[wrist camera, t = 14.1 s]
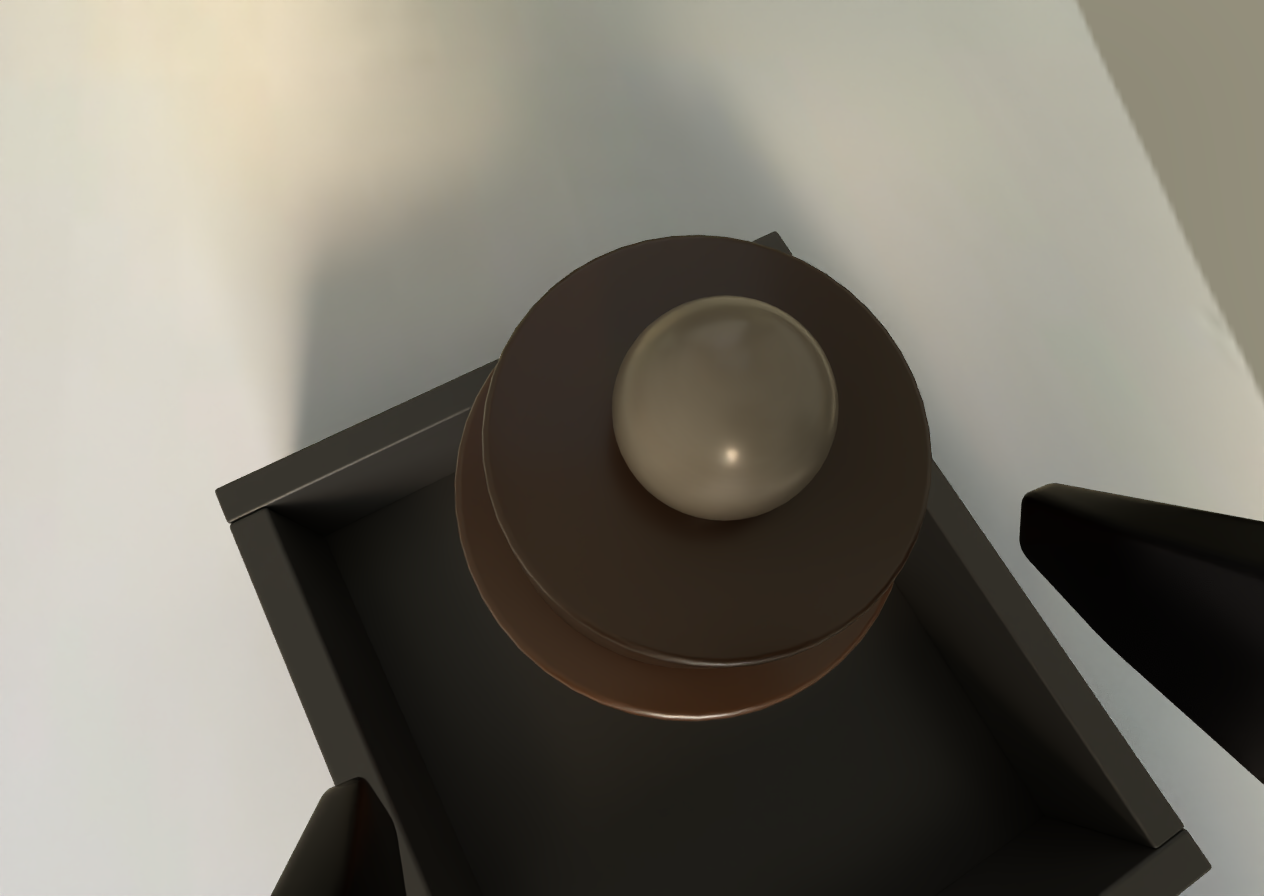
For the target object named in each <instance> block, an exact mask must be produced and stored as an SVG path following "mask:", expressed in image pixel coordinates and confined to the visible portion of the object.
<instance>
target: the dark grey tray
mask: <svg viewBox="0 0 1264 896" xmlns="http://www.w3.org/2000/svg"><path fill="white" fill-rule="evenodd" d="M753 242H754V243H757V244H761V245H764V246H767V247H770V248H774V249H777V250H780V251H782V252H784V253H786V254H789V255H791V256H792V253H791V252H790V250H789V249H788V247H787V246H786V245H785V243H784V242H783V240H782V239H781V237H780V236H779V234H778V233H777V232H776V231H775V232H772V233H770V234H768V235H766V236H763V237H761V238H759V239H757V240H755V241H753ZM498 361H499V359H497V360H495V361H493V362H490V363H488V364H486V365H484V366H482V367H480V368H477V369H475V370H473V371H471V372H469V373H467V374H464V375H462V376H460V377H458V378H456V379H454V380H451V381H449V382H447V383H445V384H443V385H441V386H438V387H436V388H434V389H432V390H430V391H428V392H425V393H423V394H421V395H419V396H417V397H415V398H412V399H410V400H408V401H406V402H404V403H402V404H399V405H397V406H395V407H393V408H391V409H389V410H386V411H384V412H382V413H380V414H378V415H376V416H373V417H371V418H369V419H367V420H365V421H363V422H360V423H358V424H356V425H354V426H352V427H350V428H347V429H345V430H343V431H341V432H339V433H337V434H334V435H332V436H330V437H328V438H326V439H324V440H321V441H319V442H317V443H315V444H313V445H311V446H308V447H306V448H304V449H302V450H300V451H298V452H295V453H293V454H291V455H289V456H287V457H285V458H282V459H280V460H278V461H276V462H274V463H272V464H269V465H267V466H265V467H263V468H261V469H259V470H256V471H254V472H252V473H250V474H248V475H246V476H243V477H241V478H239V479H237V480H235V481H233V482H230V483H228V484H226V485H224V486H222V487H220V488H217V489H216V490H215V493H216V496H217V498H218V501H219V503H220V505H221V508H222V510H223V513H224V515H225V518H226V520H227V522H228V523H230V524H231V525H230V529H231V532H232V534H233V537H234V539H235V541H236V544H237V546H238V549H239V551H240V554H241V556H242V559H243V561H244V563H245V566H246V568H247V571H248V573H249V576H250V578H251V581H252V583H253V585H254V588H255V590H256V593H257V595H258V598H259V600H260V603H261V605H262V608H263V610H264V612H265V615H266V617H267V620H268V622H269V625H270V627H271V630H272V632H273V634H274V637H275V639H276V642H277V644H278V647H279V649H280V652H281V654H282V657H283V659H284V661H285V664H286V666H287V669H288V671H289V674H290V676H291V679H292V681H293V683H294V686H295V688H296V691H297V693H298V696H299V698H300V701H301V703H302V706H303V708H304V710H305V713H306V715H307V718H308V720H309V723H310V725H311V728H312V730H313V732H314V735H315V737H316V740H317V742H318V745H319V747H320V750H321V752H322V754H323V757H324V759H325V762H326V764H327V767H328V769H329V772H330V774H331V777H332V779H333V781H334V784H335V786H336V785H339V784H341V783H343V782H346V781H348V780H350V779H353V778H355V777H363V778H364V779H366V780H367V781H368V782H369V784H370V785H371V787H372V788H373V790H374V791H375V793H376V795H377V796H378V798H379V799H380V801H381V802H382V804H383V805H384V807H385V808H386V810H387V811H388V813H389V815H390V816H391V818H392V820H393V823H394V826H395V829H396V833H397V837H398V843H399V850H400V856H401V863H402V869H403V876H404V882H405V889H406V895H407V896H1178V895H1179V894H1180V893H1182V892H1183V891H1184V890H1185V889H1187V888H1188V887H1189V886H1190V885H1192V884H1193V883H1194V882H1195V881H1197V880H1198V879H1199V878H1200V877H1202V876H1203V875H1204V874H1205V873H1207V872H1208V871H1209V870H1210V869H1211V864H1210V863H1209V862H1208V860H1207V859H1206V857H1205V856H1204V854H1203V853H1202V851H1201V850H1200V848H1199V847H1198V845H1197V844H1196V843H1195V841H1194V840H1193V838H1192V837H1191V835H1190V834H1189V832H1188V831H1187V830H1185V829H1184V828H1183V827H1184V826H1183V823H1182V822H1181V820H1180V819H1179V818H1178V816H1177V815H1176V813H1175V812H1174V810H1173V809H1172V807H1171V806H1170V804H1169V803H1168V802H1167V800H1166V799H1165V797H1164V796H1163V794H1162V793H1161V791H1160V790H1159V788H1158V787H1157V785H1156V784H1155V783H1154V781H1153V780H1152V778H1151V777H1150V775H1149V774H1148V772H1147V771H1146V769H1145V768H1144V767H1143V765H1142V764H1141V762H1140V761H1139V759H1138V758H1137V756H1136V755H1135V753H1134V752H1133V750H1132V749H1131V748H1130V746H1129V745H1128V743H1127V742H1126V740H1125V739H1124V737H1123V736H1122V734H1121V733H1120V732H1119V730H1118V729H1117V727H1116V726H1115V724H1114V723H1113V721H1112V720H1111V718H1110V717H1109V715H1108V714H1107V713H1106V711H1105V710H1104V708H1103V707H1102V705H1101V704H1100V702H1099V701H1098V699H1097V698H1096V697H1095V695H1094V694H1093V692H1092V691H1091V689H1090V688H1089V686H1088V685H1087V683H1086V682H1085V680H1084V679H1083V678H1082V676H1081V675H1080V673H1079V672H1078V670H1077V669H1076V667H1075V666H1074V664H1073V663H1072V662H1071V660H1070V659H1069V657H1068V656H1067V654H1066V653H1065V651H1064V650H1063V648H1062V647H1061V645H1060V644H1059V643H1058V641H1057V640H1056V638H1055V637H1054V635H1053V634H1052V632H1051V631H1050V629H1049V628H1048V627H1047V625H1046V624H1045V622H1044V621H1043V619H1042V618H1041V616H1040V615H1039V613H1038V612H1037V610H1036V609H1035V608H1034V606H1033V605H1032V603H1031V602H1030V600H1029V599H1028V597H1027V596H1026V594H1025V593H1024V592H1023V590H1022V589H1021V587H1020V586H1019V584H1018V583H1017V581H1016V580H1015V578H1014V577H1013V575H1012V574H1011V573H1010V571H1009V570H1008V568H1007V567H1006V565H1005V564H1004V562H1003V561H1002V559H1001V558H1000V557H999V555H998V554H997V552H996V551H995V549H994V548H993V546H992V545H991V543H990V542H989V540H988V539H987V538H986V536H985V535H984V533H983V532H982V530H981V529H980V527H979V526H978V524H977V523H976V521H975V520H974V519H973V517H972V516H971V514H970V513H969V511H968V510H967V508H966V507H965V505H964V504H963V503H962V501H961V500H960V498H959V497H958V495H957V494H956V492H955V491H954V489H953V488H952V486H951V485H950V484H949V482H948V481H947V479H946V478H945V476H944V475H943V473H942V472H941V470H940V469H939V468H938V466H937V465H936V463H935V462H934V460H933V459H932V464H931V485H930V491H929V496H928V502H927V507H926V513H925V516H924V519H923V522H922V525H921V528H920V532H919V535H918V538H917V541H916V543H915V545H914V547H913V549H912V551H911V553H910V555H909V557H908V559H907V561H906V563H905V565H904V567H903V568H902V570H901V571H900V572H899V574H898V575H897V577H896V578H895V580H894V583H893V586H892V589H891V592H890V594H889V596H888V598H887V600H886V602H885V604H884V606H883V608H882V610H881V612H880V614H879V616H878V617H877V619H876V620H875V622H874V623H873V624H872V626H871V627H870V629H869V630H868V632H867V633H866V635H865V636H864V637H863V639H862V640H861V642H860V643H859V644H858V645H857V646H856V647H855V648H854V649H853V650H852V651H851V652H850V653H849V654H848V656H847V657H846V658H845V659H844V660H843V661H842V662H841V663H840V664H839V665H838V666H836V667H835V668H834V669H833V670H831V671H830V672H829V673H828V674H826V675H825V676H824V677H823V678H821V679H820V680H819V681H818V682H816V683H815V684H813V685H811V686H810V687H808V688H806V689H805V690H803V691H801V692H799V693H798V694H796V695H794V696H793V697H791V698H789V699H787V700H784V701H782V702H779V703H777V704H775V705H772V706H770V707H767V708H765V709H762V710H760V711H756V712H752V713H748V714H744V715H740V716H736V717H732V718H725V719H716V720H706V721H672V720H661V719H655V718H649V717H644V716H638V715H633V714H629V713H626V712H623V711H620V710H617V709H614V708H611V707H608V706H605V705H602V704H600V703H598V702H596V701H593V700H591V699H589V698H587V697H585V696H583V695H581V694H579V693H577V692H575V691H573V690H571V689H570V688H568V687H567V686H565V685H564V684H562V683H561V682H559V681H558V680H556V679H555V678H553V677H552V676H550V675H549V674H547V673H546V672H544V671H543V670H542V669H541V668H540V667H539V666H538V665H536V664H535V663H534V662H533V661H532V660H531V659H530V658H529V657H527V656H526V655H525V654H524V653H523V652H522V651H521V650H520V649H519V648H518V647H517V646H516V645H515V643H514V642H513V641H512V640H511V639H510V638H509V636H508V635H507V634H506V633H505V632H504V630H503V629H502V628H501V627H500V626H499V624H498V623H497V621H496V620H495V618H494V617H493V615H492V613H491V612H490V610H489V609H488V607H487V606H486V604H485V602H484V601H483V599H482V598H481V595H480V593H479V591H478V589H477V587H476V584H475V582H474V580H473V578H472V576H471V574H470V571H469V569H468V566H467V562H466V559H465V556H464V552H463V549H462V546H461V543H460V538H459V532H458V526H457V519H456V513H455V473H456V464H457V455H458V450H459V446H460V442H461V438H462V434H463V430H464V426H465V423H466V421H467V418H468V416H469V413H470V411H471V408H472V406H473V404H474V401H475V399H476V397H477V395H478V393H479V392H480V390H481V388H482V386H483V385H484V383H485V381H486V379H487V378H488V376H489V374H490V373H491V371H492V370H493V369H494V368H495V366H496V365H497V363H498Z"/></svg>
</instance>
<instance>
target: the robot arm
mask: <svg viewBox="0 0 1264 896" xmlns="http://www.w3.org/2000/svg"><path fill="white" fill-rule="evenodd" d="M1019 541H1020V546H1021V549H1022V551H1023V553H1024V554H1025V556H1026V557H1027V559H1028V560H1029V561H1030V562H1031V563H1032V564H1033V565H1034V566H1035V567H1036V569H1037V570H1038V571H1039V572H1040V573H1041V574H1042V575H1043V576H1044V577H1045V578H1046V579H1047V580H1048V581H1049V583H1050V584H1051V585H1052V586H1053V587H1054V588H1055V589H1056V590H1057V591H1058V592H1059V593H1060V594H1061V595H1062V596H1063V598H1064V599H1065V600H1066V601H1067V602H1068V603H1069V604H1070V605H1071V606H1072V607H1073V608H1074V609H1075V610H1076V612H1077V613H1078V614H1079V615H1080V616H1081V617H1082V618H1083V619H1084V620H1085V621H1086V622H1087V623H1088V624H1089V626H1090V627H1091V628H1092V629H1093V630H1094V631H1095V632H1096V633H1097V634H1098V635H1099V636H1100V637H1101V638H1102V639H1103V640H1104V641H1105V642H1106V643H1107V644H1108V645H1109V646H1110V647H1111V648H1112V649H1113V650H1114V651H1115V652H1116V653H1118V654H1119V655H1120V656H1121V657H1122V658H1123V659H1124V660H1125V661H1126V662H1127V663H1128V664H1130V665H1131V666H1132V667H1133V668H1134V669H1135V670H1136V671H1137V672H1139V673H1140V674H1141V675H1142V676H1143V677H1144V678H1145V679H1146V680H1147V681H1149V682H1150V683H1151V684H1152V685H1153V686H1154V687H1155V688H1156V689H1158V690H1159V691H1160V692H1161V693H1162V694H1163V695H1164V696H1165V697H1166V698H1168V699H1169V700H1170V701H1171V702H1172V703H1173V704H1174V705H1175V706H1177V707H1178V708H1179V709H1180V710H1181V711H1182V712H1183V713H1184V714H1185V715H1187V716H1188V717H1189V718H1190V719H1191V720H1192V721H1193V722H1194V723H1196V724H1197V725H1198V726H1199V727H1200V728H1201V729H1202V730H1203V731H1204V732H1206V733H1207V734H1208V735H1209V736H1210V737H1211V738H1212V739H1213V740H1214V741H1216V742H1217V743H1218V744H1219V745H1220V746H1221V747H1222V748H1223V749H1225V750H1226V751H1227V752H1228V753H1229V754H1230V755H1231V756H1232V757H1233V758H1235V759H1236V760H1237V761H1238V762H1239V763H1240V764H1241V765H1242V766H1244V767H1245V768H1246V769H1247V770H1248V771H1249V772H1250V773H1251V774H1252V775H1254V776H1255V777H1256V778H1257V779H1258V780H1259V781H1260V782H1261V783H1263V784H1264V522H1263V521H1257V520H1252V519H1246V518H1241V517H1236V516H1230V515H1225V514H1220V513H1214V512H1209V511H1203V510H1198V509H1193V508H1187V507H1182V506H1176V505H1171V504H1166V503H1160V502H1155V501H1150V500H1144V499H1139V498H1133V497H1128V496H1123V495H1117V494H1112V493H1107V492H1101V491H1096V490H1090V489H1085V488H1080V487H1074V486H1069V485H1064V484H1058V483H1051V484H1047V485H1045V486H1042V487H1040V488H1037V489H1035V490H1033V491H1030V492H1028V493H1027V494H1025V496H1024V497H1023V499H1022V503H1021V519H1020V536H1019ZM271 896H407V895H406V889H405V882H404V876H403V869H402V863H401V856H400V850H399V843H398V837H397V833H396V829H395V826H394V823H393V820H392V818H391V816H390V815H389V813H388V811H387V810H386V808H385V807H384V805H383V804H382V802H381V801H380V799H379V798H378V796H377V795H376V793H375V791H374V790H373V788H372V787H371V785H370V784H369V782H368V781H367V780H366V779H364V778H363V777H355V778H353V779H350V780H348V781H346V782H343V783H341V784H339V785H336V786H334V787H332V788H330V789H328V790H327V791H326V792H325V793H324V794H323V796H322V797H321V799H320V801H319V803H318V805H317V807H316V809H315V811H314V813H313V814H312V816H311V818H310V820H309V822H308V824H307V826H306V828H305V830H304V832H303V834H302V836H301V838H300V840H299V842H298V844H297V846H296V848H295V849H294V851H293V853H292V855H291V857H290V859H289V861H288V863H287V865H286V867H285V869H284V871H283V873H282V875H281V877H280V879H279V881H278V883H277V884H276V886H275V888H274V890H273V892H272V894H271Z"/></svg>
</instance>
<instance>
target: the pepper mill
mask: <svg viewBox="0 0 1264 896" xmlns="http://www.w3.org/2000/svg"><path fill="white" fill-rule="evenodd" d="M931 464H932V453H931V442H930V432H929V426H928V421H927V417H926V412H925V408H924V404H923V400H922V398H921V395H920V392H919V389H918V387H917V384H916V381H915V378H914V376H913V374H912V372H911V370H910V368H909V366H908V364H907V362H906V360H905V358H904V356H903V354H902V352H901V351H900V349H899V348H898V346H897V345H896V343H895V342H894V340H893V339H892V337H891V336H890V335H889V333H888V332H887V330H886V329H885V328H884V326H883V325H882V324H881V323H880V322H879V321H878V319H877V318H876V317H875V316H874V315H873V314H872V312H871V311H870V310H869V309H868V308H867V307H866V306H865V305H864V304H863V303H862V302H860V301H859V300H858V299H857V298H856V297H855V296H854V295H853V294H852V293H851V292H850V291H849V290H847V289H846V288H845V287H843V286H842V285H840V284H839V283H838V282H836V281H835V280H834V279H832V278H831V277H830V276H828V275H827V274H825V273H824V272H822V271H820V270H818V269H817V268H815V267H813V266H811V265H810V264H808V263H806V262H804V261H803V260H800V259H798V258H796V257H793V256H791V255H789V254H786V253H784V252H782V251H780V250H777V249H774V248H770V247H767V246H764V245H761V244H757V243H754V242H750V241H745V240H739V239H734V238H729V237H720V236H706V235H687V236H670V237H664V238H657V239H651V240H645V241H642V242H638V243H635V244H631V245H628V246H624V247H621V248H618V249H616V250H614V251H611V252H609V253H606V254H604V255H602V256H599V257H597V258H595V259H593V260H592V261H590V262H588V263H586V264H585V265H583V266H581V267H579V268H578V269H576V270H574V271H573V272H571V273H570V274H569V275H567V276H566V277H565V278H563V279H562V280H561V281H560V282H558V283H557V284H556V285H554V286H553V287H552V288H551V289H550V290H549V291H548V292H547V293H546V294H545V295H544V296H543V297H542V298H541V299H540V300H539V301H538V302H537V303H536V304H535V305H534V306H533V307H532V308H531V309H530V310H529V312H528V313H527V314H526V315H525V317H524V318H523V319H522V321H521V322H520V323H519V325H518V326H517V327H516V328H515V330H514V332H513V334H512V335H511V337H510V339H509V341H508V342H507V344H506V346H505V348H504V349H503V351H502V353H501V356H500V358H499V361H498V363H497V365H496V366H495V368H494V369H493V370H492V371H491V373H490V374H489V376H488V378H487V379H486V381H485V383H484V385H483V386H482V388H481V390H480V392H479V393H478V395H477V397H476V399H475V401H474V404H473V406H472V408H471V411H470V413H469V416H468V418H467V421H466V423H465V426H464V430H463V434H462V438H461V442H460V446H459V450H458V455H457V464H456V473H455V513H456V519H457V526H458V532H459V538H460V543H461V546H462V549H463V552H464V556H465V559H466V562H467V566H468V569H469V571H470V574H471V576H472V578H473V580H474V582H475V584H476V587H477V589H478V591H479V593H480V595H481V598H482V599H483V601H484V602H485V604H486V606H487V607H488V609H489V610H490V612H491V613H492V615H493V617H494V618H495V620H496V621H497V623H498V624H499V626H500V627H501V628H502V629H503V630H504V632H505V633H506V634H507V635H508V636H509V638H510V639H511V640H512V641H513V642H514V643H515V645H516V646H517V647H518V648H519V649H520V650H521V651H522V652H523V653H524V654H525V655H526V656H527V657H529V658H530V659H531V660H532V661H533V662H534V663H535V664H536V665H538V666H539V667H540V668H541V669H542V670H543V671H544V672H546V673H547V674H549V675H550V676H552V677H553V678H555V679H556V680H558V681H559V682H561V683H562V684H564V685H565V686H567V687H568V688H570V689H571V690H573V691H575V692H577V693H579V694H581V695H583V696H585V697H587V698H589V699H591V700H593V701H596V702H598V703H600V704H602V705H605V706H608V707H611V708H614V709H617V710H620V711H623V712H626V713H629V714H633V715H638V716H644V717H649V718H655V719H661V720H672V721H706V720H716V719H725V718H732V717H736V716H740V715H744V714H748V713H752V712H756V711H760V710H762V709H765V708H767V707H770V706H772V705H775V704H777V703H779V702H782V701H784V700H787V699H789V698H791V697H793V696H794V695H796V694H798V693H799V692H801V691H803V690H805V689H806V688H808V687H810V686H811V685H813V684H815V683H816V682H818V681H819V680H820V679H821V678H823V677H824V676H825V675H826V674H828V673H829V672H830V671H831V670H833V669H834V668H835V667H836V666H838V665H839V664H840V663H841V662H842V661H843V660H844V659H845V658H846V657H847V656H848V654H849V653H850V652H851V651H852V650H853V649H854V648H855V647H856V646H857V645H858V644H859V643H860V642H861V640H862V639H863V637H864V636H865V635H866V633H867V632H868V630H869V629H870V627H871V626H872V624H873V623H874V622H875V620H876V619H877V617H878V616H879V614H880V612H881V610H882V608H883V606H884V604H885V602H886V600H887V598H888V596H889V594H890V592H891V589H892V586H893V583H894V580H895V578H896V577H897V575H898V574H899V572H900V571H901V570H902V568H903V567H904V565H905V563H906V561H907V559H908V557H909V555H910V553H911V551H912V549H913V547H914V545H915V543H916V541H917V538H918V535H919V532H920V528H921V525H922V522H923V519H924V516H925V513H926V507H927V502H928V496H929V491H930V485H931Z"/></svg>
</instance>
